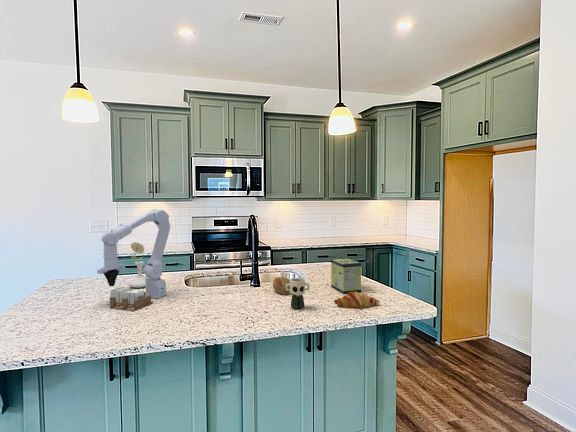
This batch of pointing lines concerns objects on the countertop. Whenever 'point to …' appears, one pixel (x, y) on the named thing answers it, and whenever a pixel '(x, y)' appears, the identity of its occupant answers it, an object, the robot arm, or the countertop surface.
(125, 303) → the rest
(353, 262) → the protein box
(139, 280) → the flower in vase
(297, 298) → the character mug
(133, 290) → the syrup box
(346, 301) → the croissant
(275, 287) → the bread roll
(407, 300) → the countertop surface
